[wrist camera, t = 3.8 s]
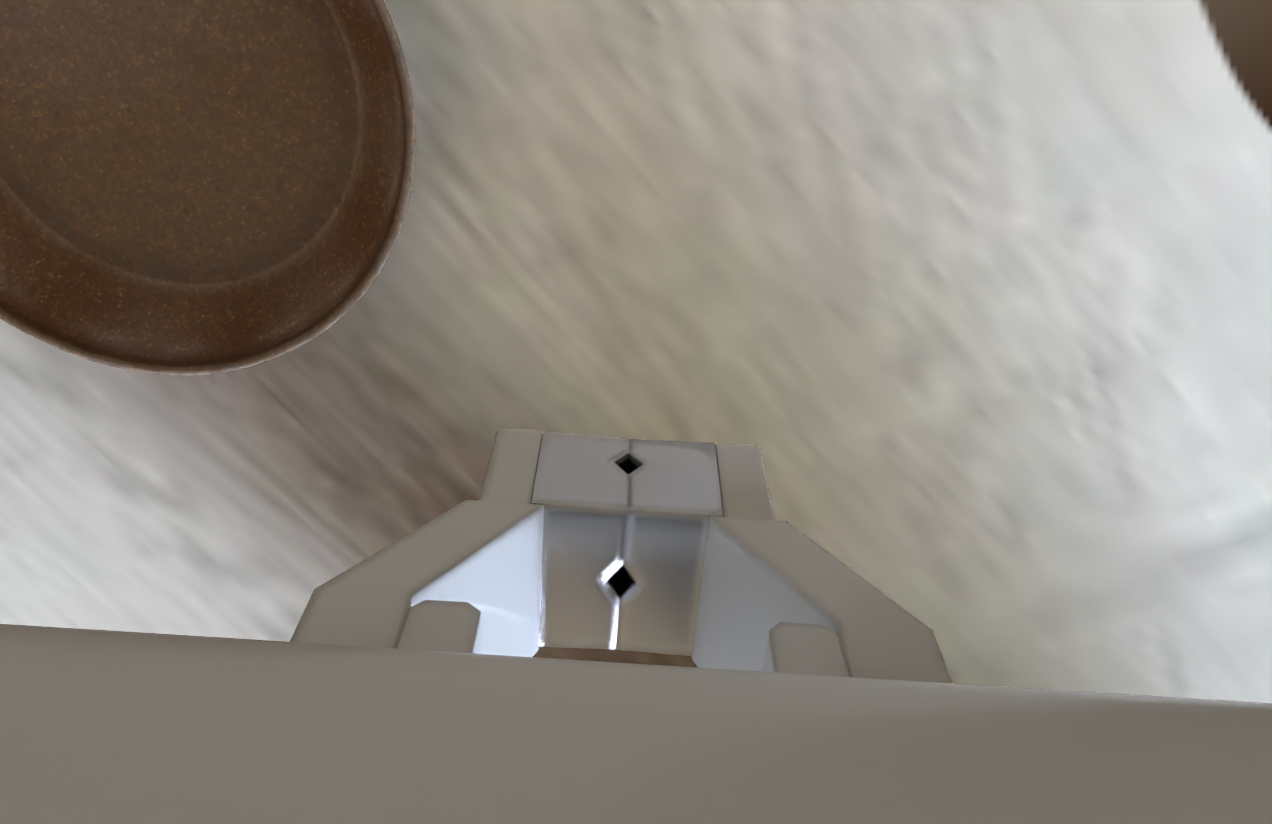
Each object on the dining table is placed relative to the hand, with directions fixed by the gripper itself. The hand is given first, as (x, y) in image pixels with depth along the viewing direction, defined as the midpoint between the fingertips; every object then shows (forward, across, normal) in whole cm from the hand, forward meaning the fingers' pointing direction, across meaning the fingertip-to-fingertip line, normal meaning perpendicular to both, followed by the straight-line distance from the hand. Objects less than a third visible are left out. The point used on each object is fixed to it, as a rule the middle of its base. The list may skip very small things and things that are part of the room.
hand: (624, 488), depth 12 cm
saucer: (+19, +13, 0) cm, 23 cm away
